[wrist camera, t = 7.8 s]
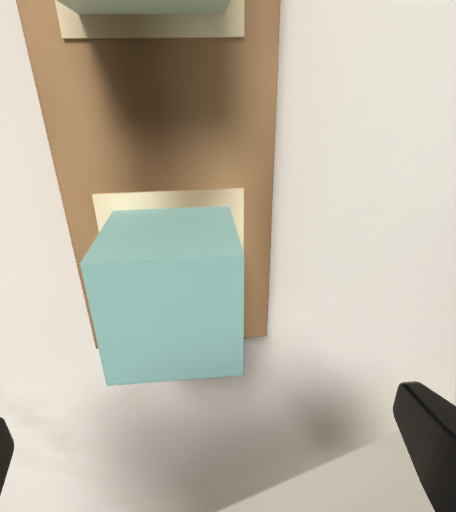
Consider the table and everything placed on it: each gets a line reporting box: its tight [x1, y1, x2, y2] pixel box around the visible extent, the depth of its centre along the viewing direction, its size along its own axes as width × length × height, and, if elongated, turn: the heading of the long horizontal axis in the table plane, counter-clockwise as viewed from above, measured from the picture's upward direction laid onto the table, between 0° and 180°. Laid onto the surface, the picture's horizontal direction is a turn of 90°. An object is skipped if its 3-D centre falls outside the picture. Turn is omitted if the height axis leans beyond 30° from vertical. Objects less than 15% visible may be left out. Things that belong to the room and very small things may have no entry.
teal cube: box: [80, 206, 244, 386], centre depth 14 cm, size 5×5×5 cm
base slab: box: [16, 0, 280, 348], centre depth 15 cm, size 9×22×3 cm, turn 1°
